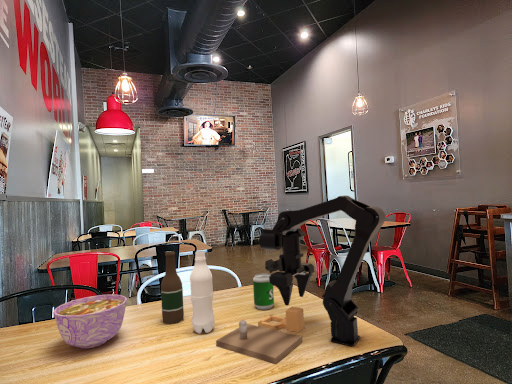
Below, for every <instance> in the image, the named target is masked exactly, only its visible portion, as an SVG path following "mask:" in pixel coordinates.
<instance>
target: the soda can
mask: <svg viewBox="0 0 512 384" xmlns="http://www.w3.org/2000/svg"><path fill="white" fill-rule="evenodd" d="M270 275H271V273H258V274H255V275H254V277H253V278H252V284H253V285H252V286H253V288H252V289H253V303H254V307H255V308H256V309H257V310H261V311H267V310H271V309H272V308H273V306H274V305H275V296H274V295H275V294H274V286H273V285H272V284H270V283H269V276H270Z"/></svg>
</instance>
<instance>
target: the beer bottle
mask: <svg viewBox="0 0 512 384" xmlns="http://www.w3.org/2000/svg"><path fill="white" fill-rule="evenodd" d="M164 256H165V272H164V277H163V278H162V279H161V284H160V289H161V290H160V292H161V293H160V298H161V315H162V316H161V317H162V318H161V319H162V323H163V324H165V325H173V324H175V325H176V324H179V323H181V322H183V321H184V319H185V317H184V315H185V313H184V310H185V309H184V292H183V291H184V290H183V282H182V279H181V277H180V276H179V274H178V273H177V267H176V266H177V265H176V257H175V256H176V252H175V251H174V250H171V251H170V250H169V251H165V253H164Z"/></svg>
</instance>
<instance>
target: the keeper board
mask: <svg viewBox="0 0 512 384" xmlns="http://www.w3.org/2000/svg"><path fill="white" fill-rule="evenodd" d="M302 343H303V336H301V335H297V334H292V333H290V332H289V333H288V332H285V331H280V330H274V329H269V328H265V327H261V326H258V325H255V324H250V323H247V321H246V320H244V319H242V320H240V321H239V322H238V327H237V328H236V329H234V330H232V331H230V332H228V333H227V334H225V335H223V336H221V337H220V338H218V339H216V340H215V345H216V347H219V348H221V349H222V348H223V349H226V350H229V351H233V352H235V353H239V354H241V355H244V356H249V357H252V358H255V359H258V360H261V361H265V362H267V363H272V364H275V365H277V364H278V363H279V362H280V361H281V360H282V359H284V358H285V357H286V356H287V355H289V354H290V353H291V352H292V351H293V350H294V349H296V348H297V347H298V346H299V345H301V344H302Z"/></svg>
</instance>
